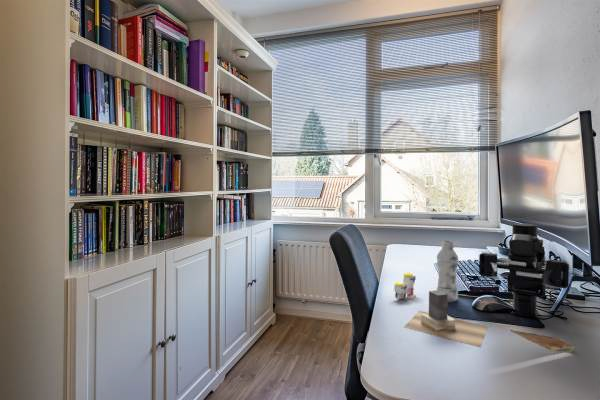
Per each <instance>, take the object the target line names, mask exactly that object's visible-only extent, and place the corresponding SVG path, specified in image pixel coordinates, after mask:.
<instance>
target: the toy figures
mask: <svg viewBox="0 0 600 400" xmlns="http://www.w3.org/2000/svg"><path fill="white" fill-rule="evenodd" d="M416 280H417V279H416V275H414V274H413V273H411V272H405V273H403V279H402V281H403V282H401V281H397V282H395V283H394V288H393V291H394V292H395V294H394V295H395V296H394V297H395V299H396V300H397V301H401V300H403V301H405V300H407V299H415V298H416V297H417V294H416V293H414V290H415V289H414V286H415V281H416Z"/></svg>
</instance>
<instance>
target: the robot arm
mask: <svg viewBox="0 0 600 400" xmlns="http://www.w3.org/2000/svg"><path fill="white" fill-rule="evenodd" d="M538 228H539V227H538V224H534V223H533V224H532V223H527V222H526V223H525V222H521V223H512V232H511V233H512V235H511V237H510V240H509V251H508V252H509V253H508V255H507V256H508V257H507V258H508V259H501V258H498V254H497V253H494V252H486V251H485V252H481V253H479V255H478V257H479V258H478V259H479V261H478V262H479V263H478V264H479V265H478V274H479V275H480V276H482V277H486V278H490V279H491V278H492V279H497V278H498V269H502V270H508V272H507V293H512V294H513V298H512V299H513V303H512V306H513V307H514V308H515V312H513V311H512V312H511V311H510V314H512V315H515V316H522V317H527V318H532V319H539V310H538V308H537V305H538V304H537V303H538V301H537V300H538V298H544V297H545V298H546V290H547V289H546V288H547V287H550V288H551V287H552V288H561V289H566V288H568V287H569V279H570V278H569V277H570V275H569V274H570V263H568V262H567V261H565V260H558V259H557V260H556V259H549V258H548V260H547V261H546V251H545V246H544V239H540V238H539V237H538Z"/></svg>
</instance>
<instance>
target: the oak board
mask: <svg viewBox="0 0 600 400" xmlns="http://www.w3.org/2000/svg"><path fill="white" fill-rule="evenodd" d="M425 313H428V312H427V311H426V312H425V311H424V310H423V311H422V310H419V311H417V313H416V314H415V315H414V316H413V317H412V318H411V319H410V320H409V321H408V322H407V323H406V324H405V325H404V326H403V328H404V329H409V330H413V331H417V332H420V333H424V334H428V335H431V336H436V337H440V338H443V339H447V340H452V341H454V342H459V343H461V344H462V343H463V344H466V345H469V346H473V347H478V348H481V347H482V344H483V342H484V338H485V336H486V333H487V330H488V327H489V325H485V324H481V323H477V322H471V321H468V320H462V319H458V318H454V317H452V318H453V319H455V329H451V330H446V331H440V332H436V331H434V330H432V329H431V328H429V327H427V326H426V325H424V324H422V323H421V314H425Z"/></svg>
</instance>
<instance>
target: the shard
mask: <svg viewBox="0 0 600 400" xmlns="http://www.w3.org/2000/svg"><path fill="white" fill-rule="evenodd" d="M510 332H512V333H514V334H516V335H518V336H520V337H523V338H525V339H526V340H528V341H530V342H532V343H535V344H537V345H538V346H540V347H543V348H545V349H548V350H549V351H552V352H556V351H560V352H556V353H553V354H552V355H559V354H562V353H571V352H573V350H574V349H575V346H574V345H573V344H571V343H569V342H566V341H565V340H564V341H563V340H562V339H560V338H558V337H553V336H548V335H543V334H538V333H532V332H525V331H524V332H523V331H520V330H519V331H518V330H512V329H510ZM562 350H565V351H562Z"/></svg>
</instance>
